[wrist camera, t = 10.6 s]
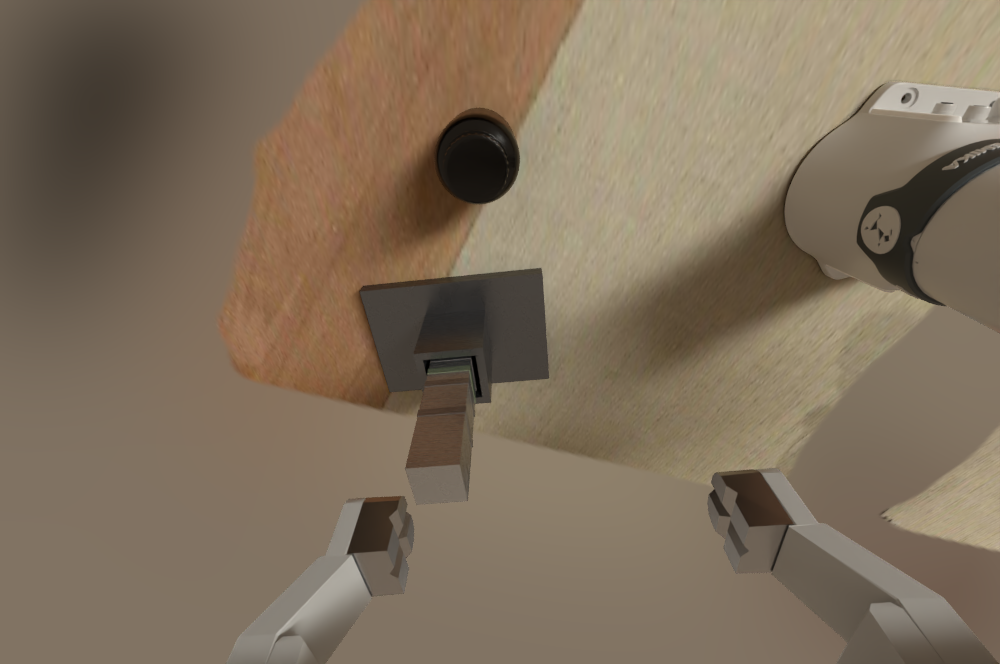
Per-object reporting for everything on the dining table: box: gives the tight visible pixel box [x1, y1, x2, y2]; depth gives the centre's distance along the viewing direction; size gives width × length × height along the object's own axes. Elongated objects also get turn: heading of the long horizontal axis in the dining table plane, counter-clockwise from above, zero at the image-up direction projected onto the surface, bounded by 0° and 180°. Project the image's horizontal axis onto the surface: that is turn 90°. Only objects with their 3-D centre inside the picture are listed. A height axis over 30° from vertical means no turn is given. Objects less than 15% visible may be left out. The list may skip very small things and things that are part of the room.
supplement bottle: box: [435, 108, 520, 204], centre depth 37 cm, size 7×7×12 cm
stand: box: [360, 268, 549, 404], centre depth 48 cm, size 20×14×10 cm
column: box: [405, 356, 477, 505], centre depth 40 cm, size 4×4×16 cm
